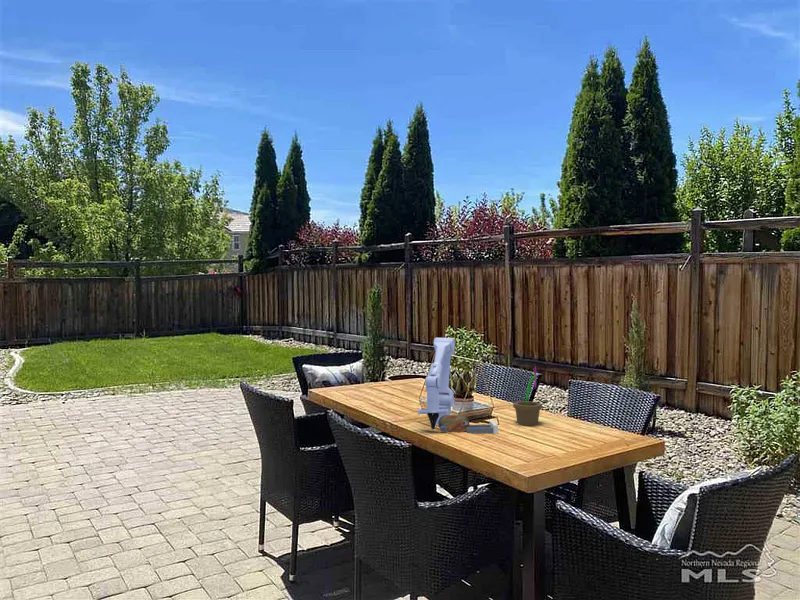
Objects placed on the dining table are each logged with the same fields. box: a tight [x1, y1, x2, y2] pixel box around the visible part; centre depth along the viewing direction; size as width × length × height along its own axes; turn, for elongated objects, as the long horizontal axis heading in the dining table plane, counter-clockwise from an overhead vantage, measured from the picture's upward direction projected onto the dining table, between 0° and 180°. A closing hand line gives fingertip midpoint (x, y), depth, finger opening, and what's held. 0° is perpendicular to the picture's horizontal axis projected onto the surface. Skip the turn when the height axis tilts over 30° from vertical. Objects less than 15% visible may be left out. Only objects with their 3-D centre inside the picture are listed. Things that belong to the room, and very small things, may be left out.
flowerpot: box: [512, 365, 543, 427], centre depth 300 cm, size 14×14×30 cm
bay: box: [466, 420, 499, 435], centre depth 284 cm, size 10×14×4 cm
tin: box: [438, 414, 470, 434], centre depth 283 cm, size 15×3×8 cm, turn 101°
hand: (433, 428), depth 283 cm, fingers closed
